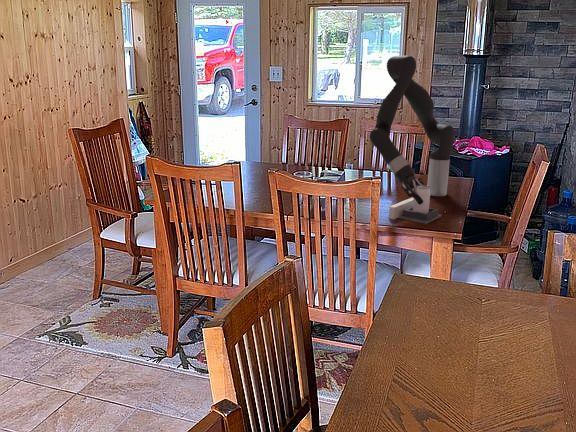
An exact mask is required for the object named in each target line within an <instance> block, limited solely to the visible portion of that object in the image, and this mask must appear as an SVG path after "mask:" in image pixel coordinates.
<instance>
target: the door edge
mask: <svg viewBox="0 0 576 432" xmlns="http://www.w3.org/2000/svg"><path fill="white" fill-rule="evenodd" d="M413 199H414V198H413V197H409V198H408V199H405V200H402V201H400V202H397V203H395V204H393V205H390V206H388V207H389V208H388V219H390V220H396V219H399V216H401V215H403V212H404V210H405V209H407V208H409V207H412V206H413Z"/></svg>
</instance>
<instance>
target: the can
mask: <svg viewBox="0 0 576 432" xmlns="http://www.w3.org/2000/svg"><path fill="white" fill-rule="evenodd" d="M416 188H417V190H416V191H417V193H418V195H419V196H420V197H421V198H422V200H423V203H422V204H420V205H419V204H418V203H417V201H416V200H415V199H413V211H415V212H420V213H425V214H426V213H429V208H430V203H431V201H430V200H431V199H430V197H431V195H430V189H429V188H430V187H429V186H427V185H426V184H425V185H417V187H416Z"/></svg>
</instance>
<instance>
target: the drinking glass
mask: <svg viewBox="0 0 576 432" xmlns="http://www.w3.org/2000/svg"><path fill="white" fill-rule="evenodd" d="M316 180H317V181H326V182H334V183H335V181H333V180H331V179H325V178H322V179H321V178H317V179H316ZM310 199H311V200H310V201H311V209H312V208H313V199H312V197H311V196H310ZM321 207H322V209H324V208H325V199H324V198H321Z"/></svg>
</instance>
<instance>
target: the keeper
mask: <svg viewBox="0 0 576 432" xmlns="http://www.w3.org/2000/svg"><path fill="white" fill-rule="evenodd" d="M441 217H442V214H441V213H439V209H438V208H433V207H429V213H426V214H425V213H420V212H415V211H413V206H412V207H409V208H407V209H405V210H404V212H403V215H401V216H399V217H398V219H400V220H401V219H402V220H406V221H411V222H415V223H418V224H419V223H420V224H424V225H427V224H429V223H431V222H433V221H435V220H437V219H439V218H441Z"/></svg>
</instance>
